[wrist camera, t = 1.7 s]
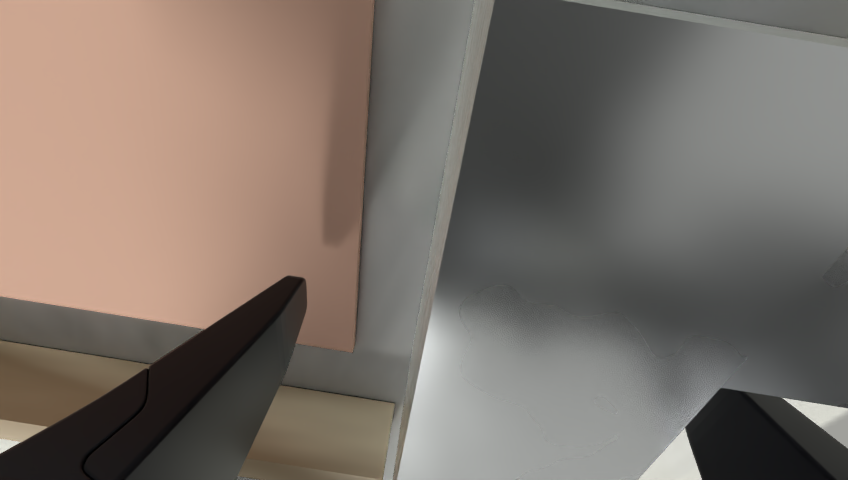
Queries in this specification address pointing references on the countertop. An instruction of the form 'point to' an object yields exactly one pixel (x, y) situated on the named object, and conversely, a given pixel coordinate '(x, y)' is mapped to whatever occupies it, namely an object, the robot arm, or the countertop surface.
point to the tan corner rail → (272, 448)
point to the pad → (184, 156)
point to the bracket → (626, 238)
